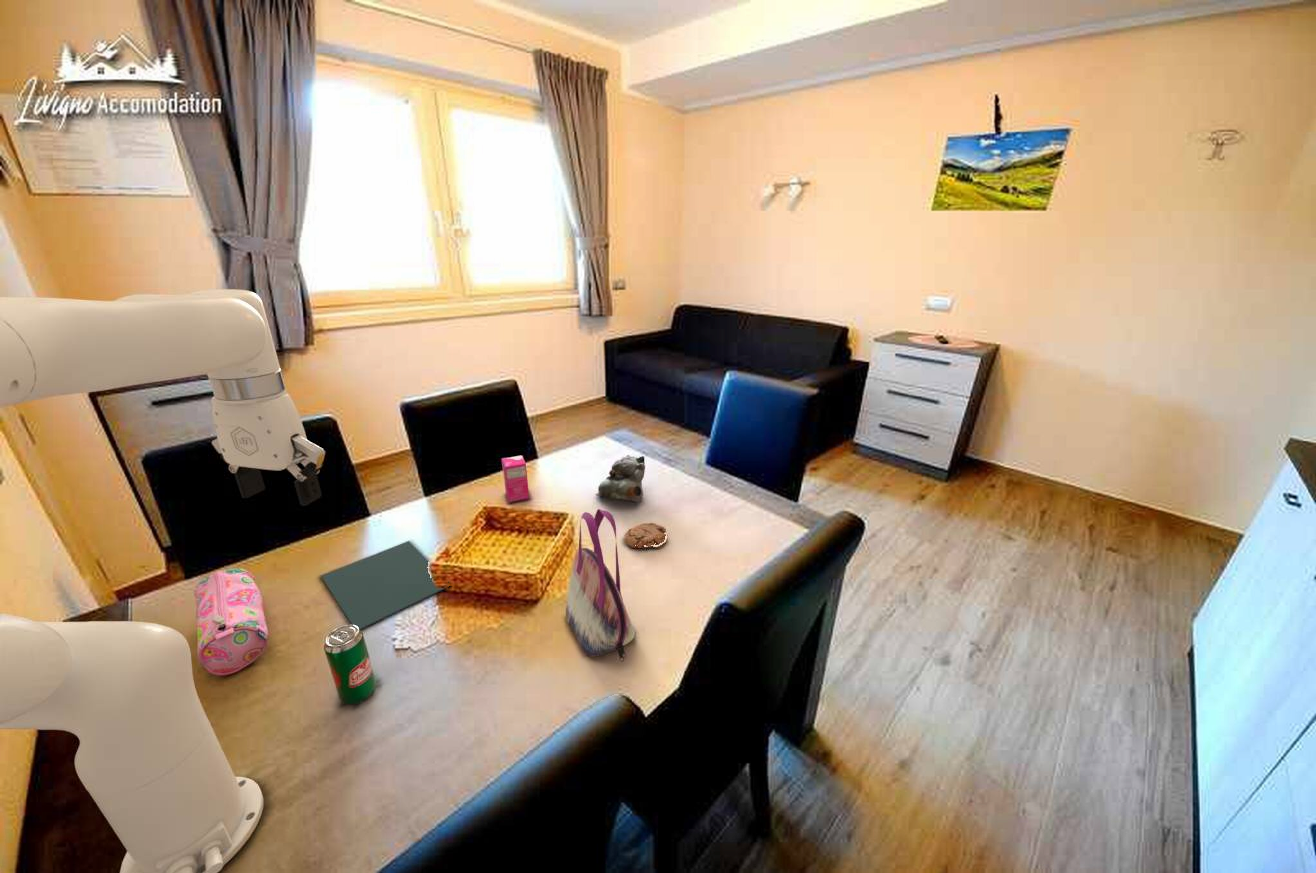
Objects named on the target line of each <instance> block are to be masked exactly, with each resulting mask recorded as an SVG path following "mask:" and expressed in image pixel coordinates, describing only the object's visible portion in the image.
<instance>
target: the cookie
mask: <svg viewBox="0 0 1316 873" xmlns="http://www.w3.org/2000/svg"><path fill="white" fill-rule="evenodd" d="M665 532H666V534H667V528H666V527H664V526H663V525H661V524H657V523H656V522H655V523H654V522H643V523H640V524H636V525H634V526H633V527H631V528H628V529H627V531H626V532H625V534H624V538H625V539H624V541H625V544H626V545H627V546H629V547H630V548H633V549H647V548H649V547H644V545H646V546H651V545H654V544H655V543H656V544H655V545H659V544H660V543H662V542H664V540H665V536H666V534H664V533H665ZM668 539H669V537H668V538H667V540H666V542H665V543H664V544H662V545H660V546H658V547H653V546H652V547H651V548H654V549H659V548H661V547H663V545H665V544H666V543H667V542H668ZM635 545H636V546H635Z"/></svg>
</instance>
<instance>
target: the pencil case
mask: <svg viewBox="0 0 1316 873" xmlns="http://www.w3.org/2000/svg"><path fill="white" fill-rule="evenodd" d="M193 594H194V598H195V606H196V610H195V618H196V621H197V624H196V625H197V626H196V641H197V650H196V653H197V659H198V661H199V662H200V665H201V666H202V667H203V668H204V669H205V670H206V671H208V672H209V673H211V674H213V675H215V676H228V675H231V674H234V673H237V672H239V671H241V670H242V669H244V668H246V667H247V666H250V664H252V663H253V662H255V661H256V660H257V659H258V658H259V657H261V655H262V654H263V653H264V651H265V650H266V648H267V646H268V644H269V629H268V626H267V620H266V616H265V612H264V604H263V596H262V593H261V591H260V590H259V587H258V585H257V584H256V579H255V576H254V575H253V574H252V573H251V572H250V571H249V570H247V569H245V568H241V567H235V568H234V567H233V568H228V569H224V570H220V571H215V572H214V573H213V574H210V575H209V576H207V577H205V578H204V579H202V580H201V581H200V582H199V583H197V584H196V586H195V588H194V592H193Z"/></svg>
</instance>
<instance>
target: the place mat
mask: <svg viewBox="0 0 1316 873" xmlns="http://www.w3.org/2000/svg"><path fill="white" fill-rule="evenodd" d="M428 562H430V561H429V560H428V559H427V558H426V557H425V556H424V555H423V554H422V553H421V552H420V551H419V550H418V549H417V548H416V547H415V546H414V544H412V543H411V541H409V540H407V541H405V542H402V543H400V544H398V545H395V546H391V547H390V548H388V549H385V550H382V551H380V552H378V553H377V552H376V553H375V554H372V555H369V556H367V557H365V558H362V559H360V560H357V561H354V562H352V563H349V564H347V565H344V566H342V567H340V568H337V569H333V570H331V571H329V572H327V573H324V574H322V575H320V578H321V579H322V581H323V582H324V584H325V586H326V587H327V588H328V591H329V592H330V594H331V596H332V597H333V599H334V600H335V602H336V603H337V604H338V606H339V607H340V609H341V610H342V612H343V614H344V615H345V617H346V618H347V620H348V622H349V623H350V625H355V626H357V627H358V628H359V629H360V630H361V631H363V630H364V629H367V628H369V627H370V626H373V625H375V624H378V623H379V622H381V621H383V620H385V619H387V618H389V617H391V616H393V615H395V614H397V613H400V612H402V611H403V610H406V609H407V608H410V607H411V606H414V605H416V604H418V603H420V602H422V601H424V600H426V599H428V598H430V597H432V596H435V595H437V594H439V593H440V592H442V591H443V592H444V590H447V589H448V588H441V587H440V588H439V587H436V586H435V585H434V583H433V581H432V578H430V574H429V573H428V568H427V567H428Z"/></svg>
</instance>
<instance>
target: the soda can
mask: <svg viewBox="0 0 1316 873" xmlns="http://www.w3.org/2000/svg"><path fill="white" fill-rule="evenodd" d="M324 641H325V642H324V645H323V650H324V653H325V657H326V659H327V663H328V666H329V670H330V673H331V677H332V679H333V683H334V685H335V689H336V692H337V695H338V698H339V699H338V700H339V701H340V702H341V703H342V704H346V705H355V704H359V703H362V702H363V701H365V700H367V699H368V698H369V697H370V696H371V695H372V694H373V692H374V691H375V689H376V687H377V681H376V678H375V673H374V670H373V669H374V668H373V666H372V662H371V659H370V654H369V651H368V647H367V644H366V640H365V635H364V633H363V630H360V629H359V628H358V627H357V626H355V625H352V624H345V625H341V626H339V627H337V628H335V629H333V630H332V631H330V632H329V633H328V635H327V636H326V637H325V640H324Z"/></svg>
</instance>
